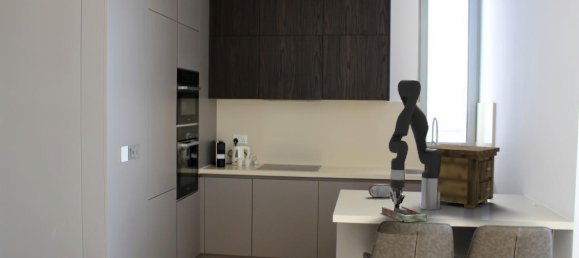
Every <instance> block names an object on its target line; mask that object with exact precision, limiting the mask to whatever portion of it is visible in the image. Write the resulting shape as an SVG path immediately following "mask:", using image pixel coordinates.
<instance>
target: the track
mask: <svg viewBox="0 0 579 258" xmlns="http://www.w3.org/2000/svg"><path fill="white" fill-rule="evenodd" d="M400 208H404V209H406V210H407V215H403V214H401V213H398V212H396V211H394V209H391V208H388V207H385V206H382V207H381V214H384V215H387V216H388V217H391V218H394V219H396V220H398V221H400V222H402V221H404V222H403V223H410V222H411V223H414V222H428V214H426V213H423V212H420V211H418V210H416V209H412V208H410V207H407V206H403V205H402V206H401V207H400Z"/></svg>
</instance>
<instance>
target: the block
mask: <svg viewBox="0 0 579 258" xmlns="http://www.w3.org/2000/svg"><path fill="white" fill-rule="evenodd" d="M393 211H396V212H398V213H401V214H403V215H408V214H407V210H406V209H404V208H401V207H399V208H393Z"/></svg>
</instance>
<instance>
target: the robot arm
mask: <svg viewBox="0 0 579 258" xmlns="http://www.w3.org/2000/svg"><path fill="white" fill-rule="evenodd" d="M421 85H422V84H421V83H420V81H419V80H418V79H401V80H400V81H399V82H398V84H397V92H398V95H399V98H400V100H401V103H402V105H403V109H402V110H401V111H400V113H399V114H398V116H397V119H396V123H395V126H394V131H393V133H392V135H391V137H390V138H389V139H390V140H389V142H388V149H389V152H391V153H393V154H396V157H393V158H392V159H391V161H390V174H389V175H390V176H389V177H390V178H389V179H390V180H389V181H390V182H389V185H390V187H392V192H390V195H391V197H390V198H391V201H392V203H393V204H394V205H393V206H394V208H400V205H401V204H403V201H404V199H405V198H406V195H405V194H403V188H405V186H406V171H405V166H406V159H407V155H408V152H409V144H408V142H407V141H406V140H402V139H403V137H407V136H408V134H409V130H410V129H411V131H412V135H413V139H414V142H415V146H416V150H417V156H418V159H419V161H420V163H421V164H422V165H430V166H429V169H428V170H427V171H422V172H421V194H420V195H421V196H420V197H421V198H420V199H421V200H420V209H422V210H428V211H429V210H430V211H436V210H440V208H441V201H440V192H439V174H440V167H441V153H440V151H439V150H438V149H429V148H428V147H427V146H428V145H427V141H426V140H427V135H428V132H429V128H430V127H429V122H428V119H427V116H426V114H425V113H424V111H422V109H421V108H420V107H419V106H418V104H417V103H418V100H419V97H420V94H421V92H422V91H421V90H422V86H421ZM394 208H393V209H394Z"/></svg>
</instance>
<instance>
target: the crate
mask: <svg viewBox="0 0 579 258" xmlns="http://www.w3.org/2000/svg"><path fill="white" fill-rule="evenodd" d="M427 147H428V148H429V149H438V150H439V151H440V153H441V167H440V174H439V192H440V202H447V203H448V202H449V203H455V204H463V208H464V209H465V208H466V209H475V208H476V206H477V205H479V204H487V203H488V201H489V200H493V199H494V178H495V177H494V173H495V172H494V171H495V157H497V156H498V153H499V152H500V147H495V146H480V145H479V146H478V145H460V144H447V143H446V144H445V143H443V144H442V143H441V144H436V145H435V144H433V145H427ZM423 165H424V164H423ZM429 166H430V165H424V169H423V170H424V171H427V170H428V169H429ZM424 171H423V172H424Z"/></svg>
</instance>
